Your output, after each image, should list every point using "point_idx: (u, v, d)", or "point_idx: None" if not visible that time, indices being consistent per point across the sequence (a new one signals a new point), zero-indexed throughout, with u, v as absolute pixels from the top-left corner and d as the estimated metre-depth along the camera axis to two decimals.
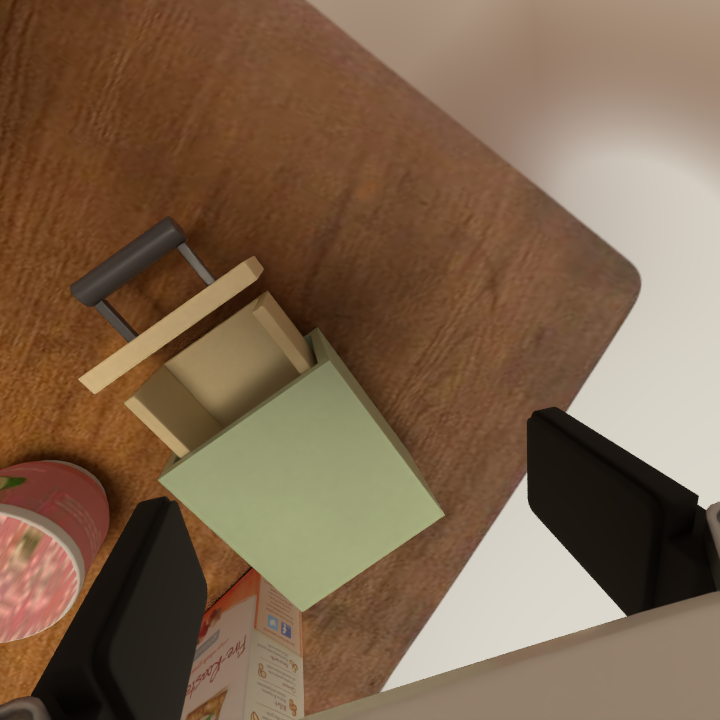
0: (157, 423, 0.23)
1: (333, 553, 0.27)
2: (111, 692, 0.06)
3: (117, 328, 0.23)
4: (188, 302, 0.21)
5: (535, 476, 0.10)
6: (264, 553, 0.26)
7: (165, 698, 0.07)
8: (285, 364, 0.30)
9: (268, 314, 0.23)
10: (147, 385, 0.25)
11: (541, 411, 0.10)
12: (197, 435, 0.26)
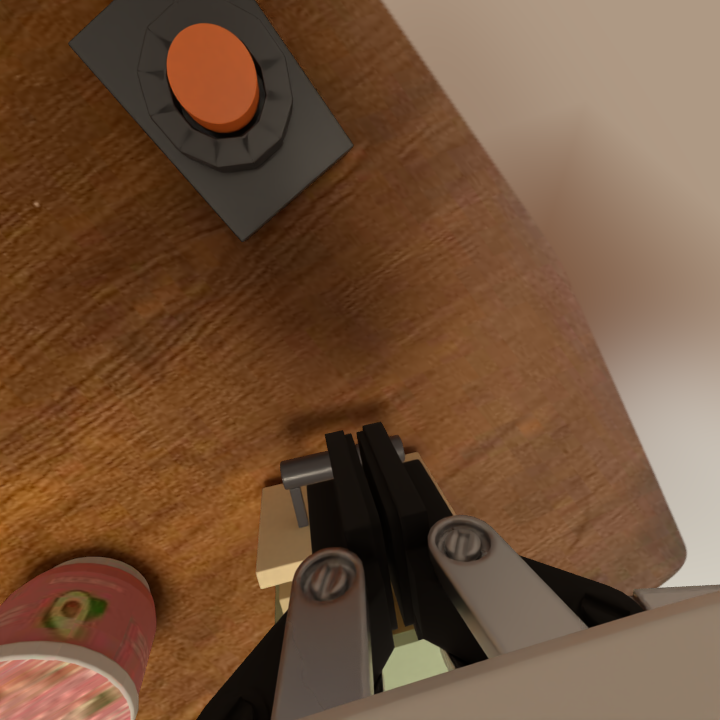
0: None
1: None
2: (380, 552, 0.07)
3: (298, 514, 0.23)
4: None
5: None
6: None
7: None
8: None
9: None
10: None
11: (365, 426, 0.11)
12: None
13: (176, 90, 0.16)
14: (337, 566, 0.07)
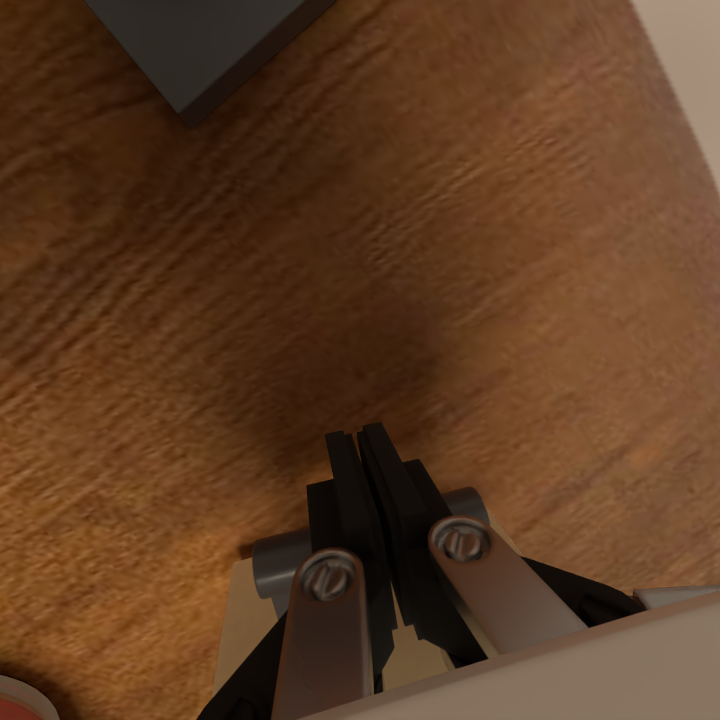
0: None
1: None
2: (380, 552, 0.07)
3: None
4: None
5: None
6: None
7: None
8: None
9: None
10: None
11: (365, 426, 0.11)
12: None
13: None
14: (337, 566, 0.07)
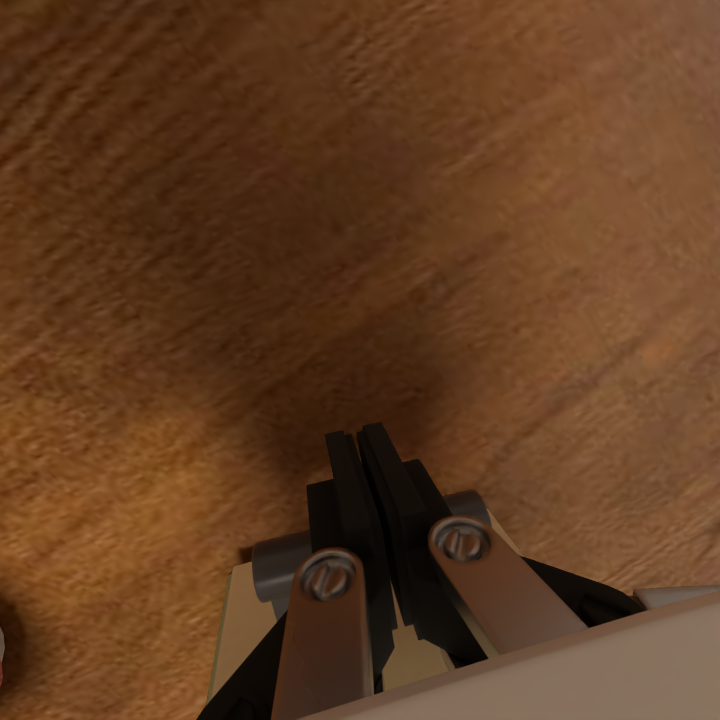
0: None
1: None
2: (379, 552, 0.07)
3: None
4: None
5: None
6: None
7: None
8: None
9: None
10: None
11: (365, 426, 0.11)
12: None
13: None
14: (337, 566, 0.07)
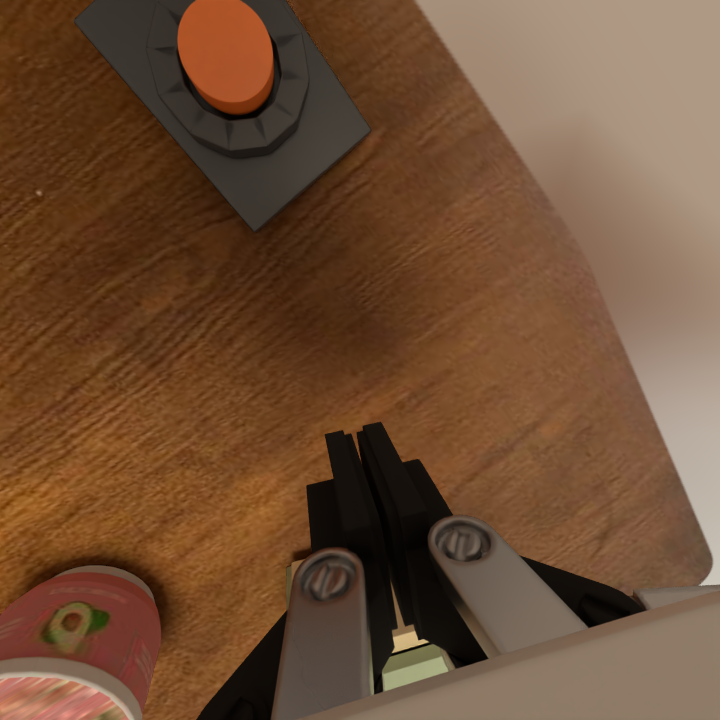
0: None
1: None
2: (379, 552, 0.07)
3: None
4: None
5: None
6: None
7: None
8: None
9: None
10: None
11: (365, 426, 0.11)
12: None
13: (187, 66, 0.15)
14: (337, 566, 0.07)
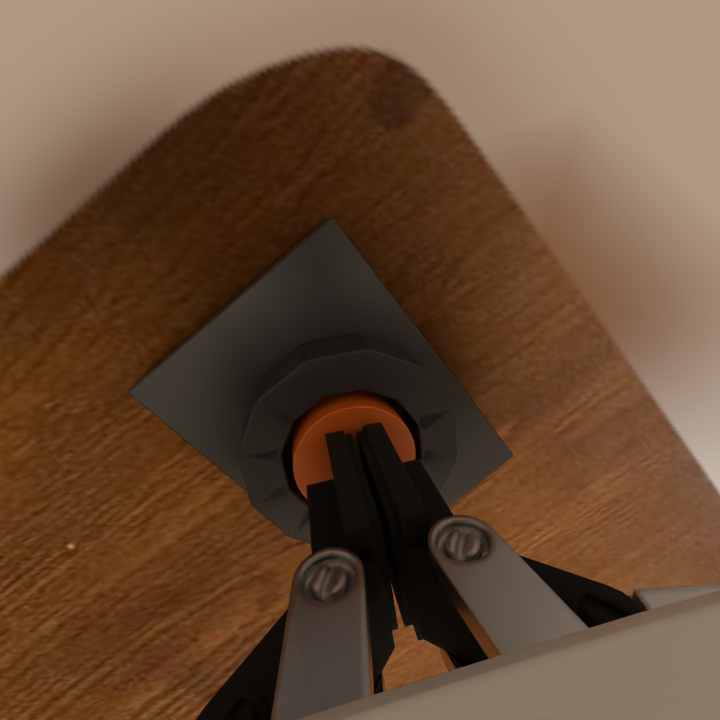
0: None
1: None
2: (379, 552, 0.07)
3: None
4: None
5: None
6: None
7: None
8: None
9: None
10: None
11: (365, 426, 0.11)
12: None
13: (304, 488, 0.11)
14: (337, 566, 0.07)
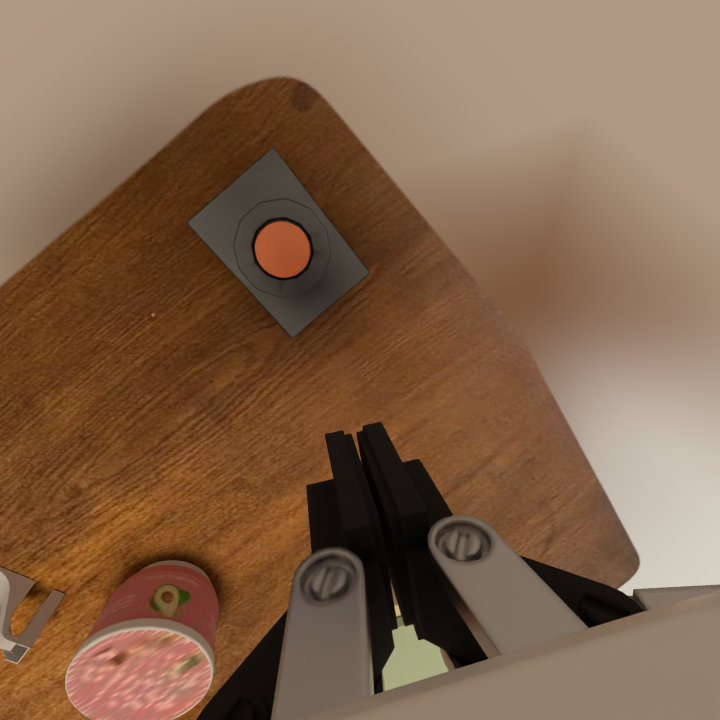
0: None
1: None
2: (379, 552, 0.07)
3: None
4: None
5: None
6: None
7: None
8: None
9: None
10: None
11: (365, 426, 0.11)
12: None
13: (260, 260, 0.26)
14: (337, 566, 0.07)
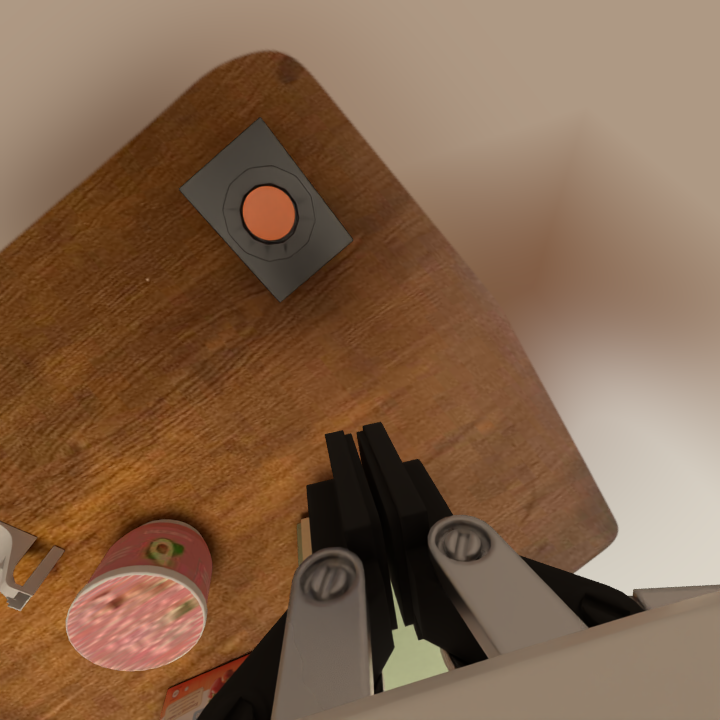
0: None
1: None
2: (379, 552, 0.07)
3: None
4: None
5: None
6: None
7: None
8: None
9: None
10: None
11: (365, 426, 0.11)
12: None
13: (247, 223, 0.27)
14: (337, 566, 0.07)
